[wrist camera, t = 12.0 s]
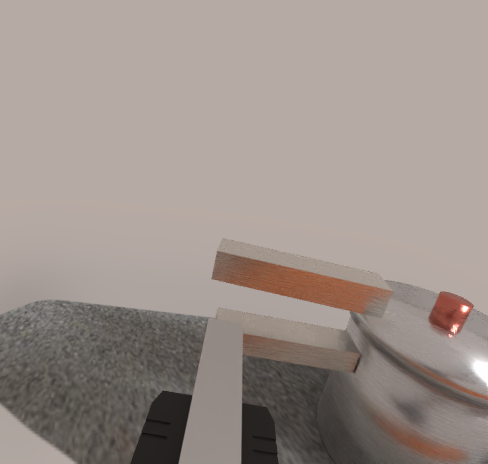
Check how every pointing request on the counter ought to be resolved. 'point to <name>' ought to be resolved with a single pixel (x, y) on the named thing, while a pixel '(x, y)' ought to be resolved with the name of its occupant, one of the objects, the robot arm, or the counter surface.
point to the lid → (378, 314)
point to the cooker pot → (370, 397)
